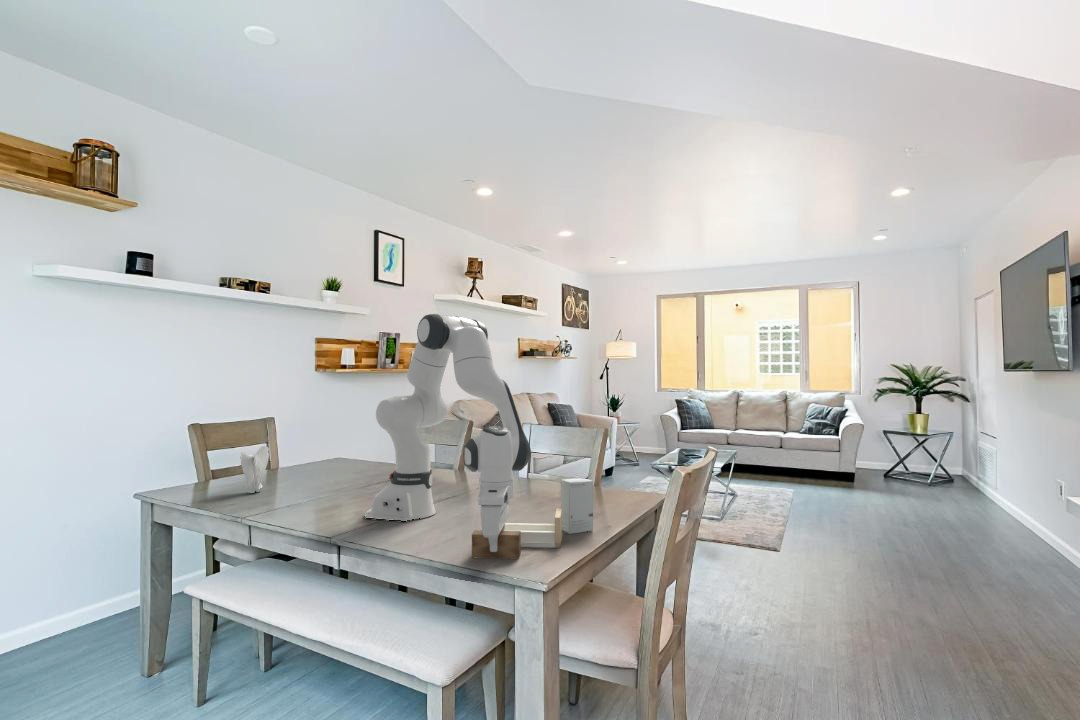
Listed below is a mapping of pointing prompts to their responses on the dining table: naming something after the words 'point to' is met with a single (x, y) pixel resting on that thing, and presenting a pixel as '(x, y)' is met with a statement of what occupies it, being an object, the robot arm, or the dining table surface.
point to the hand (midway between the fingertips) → (497, 544)
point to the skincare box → (577, 505)
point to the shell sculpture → (254, 467)
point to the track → (539, 532)
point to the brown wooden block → (506, 545)
